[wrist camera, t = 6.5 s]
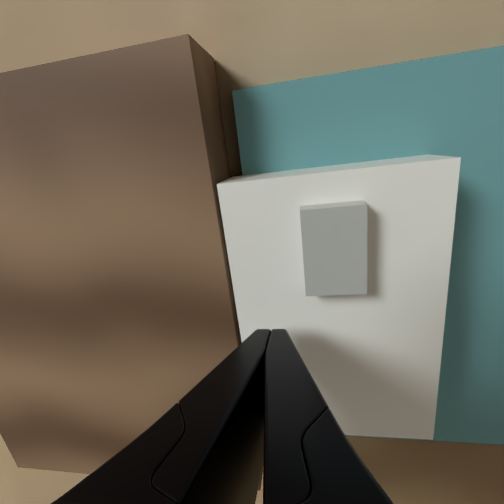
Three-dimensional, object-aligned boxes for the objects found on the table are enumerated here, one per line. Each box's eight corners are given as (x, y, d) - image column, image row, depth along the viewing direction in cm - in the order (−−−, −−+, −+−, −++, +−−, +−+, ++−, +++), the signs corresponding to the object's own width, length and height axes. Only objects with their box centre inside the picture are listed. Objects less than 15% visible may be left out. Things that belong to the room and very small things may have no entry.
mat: (521, 439, 12) (527, 446, 12) (274, 425, 14) (274, 431, 14) (618, 29, 8) (631, 24, 7) (234, 92, 9) (232, 90, 9)
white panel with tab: (412, 392, 12) (441, 457, 9) (262, 389, 13) (253, 445, 10) (427, 154, 9) (474, 158, 6) (232, 176, 10) (210, 187, 8)
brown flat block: (266, 441, 14) (260, 490, 12) (53, 427, 17) (18, 467, 15) (213, 58, 9) (187, 34, 7) (-85, 114, 11) (-170, 108, 9)
